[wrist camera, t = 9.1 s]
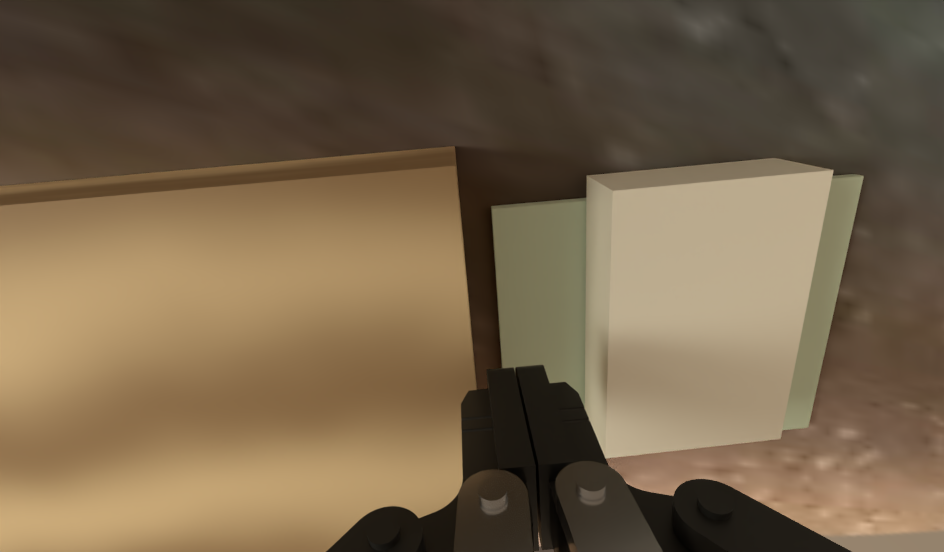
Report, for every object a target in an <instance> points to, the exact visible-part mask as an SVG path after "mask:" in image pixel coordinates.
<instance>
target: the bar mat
mask: <svg viewBox="0 0 944 552" xmlns="http://www.w3.org/2000/svg"><path fill="white" fill-rule="evenodd" d="M863 178H864V176H861V175H857V174H848V175H837V176H832V181H831V186H830V191H829V196H828V201H827V206H826V211H825V216H824V221H823V226H822V231H821V237H820V242H819V247H818V252H817V257H816V262H815V267H814V272H813V277H812V282H811V287H810V292H809V297H808V302H807V307H806V312H805V317H804V323H803V328H802V333H801V338H800V343H799V348H798V353H797V358H796V363H795V368H794V373H793V378H792V383H791V388H790V393H789V398H788V404H787V409H786V414H785V419H784V424H783V429H782V430H789V429H800V428H808V426H809V421H810V417H811V412H812V408H813V403H814V399H815V394H816V390H817V385H818V381H819V376H820V372H821V367H822V363H823V358H824V354H825V349H826V345H827V340H828V336H829V331H830V327H831V322H832V318H833V313H834V309H835V304H836V300H837V295H838V291H839V286H840V281H841V277H842V272H843V268H844V263H845V259H846V254H847V250H848V245H849V241H850V236H851V232H852V227H853V223H854V218H855V214H856V209H857V205H858V200H859V196H860V191H861V187H862V182H863ZM491 215H492V230H493V245H494V260H495V274H496V289H497V304H498V319H499V334H500V349H501V364H502V368H511V367H514V370H515V368H516V367H521V366H532V365H544V368H545V371H546V374H547V377H548V380H549V383H557V382H566V383H568V384H569V385H570V386H571V387H572V388H573V389H574V390H576V391H577V392H578V393H579V396H580V398H581V400H582V403H583V405H584V409H585V312H586V198H577V199H565V200H554V201H543V202H532V203H520V204H509V205H498V206H491Z"/></svg>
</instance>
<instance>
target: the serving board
mask: <svg viewBox="0 0 944 552" xmlns="http://www.w3.org/2000/svg"><path fill="white" fill-rule="evenodd" d="M470 390H477V384H476V373H475V362H474V351H473V340H472V329H471V318H470V307H469V296H468V285H467V274H466V264H465V253H464V242H463V231H462V220H461V209H460V198H459V187H458V176H457V165H456V154H455V146H450V147H439V148H427V149H416V150H405V151H393V152H382V153H371V154H359V155H348V156H336V157H325V158H314V159H302V160H291V161H279V162H268V163H257V164H245V165H234V166H222V167H211V168H200V169H188V170H177V171H165V172H154V173H143V174H131V175H120V176H108V177H97V178H86V179H74V180H63V181H51V182H40V183H29V184H17V185H6V186H0V552H326V551H327V550H328V549H329V548H330V547H332V546H333V545H334V544H335V543H336V542H337V541H338V540H339V539H340V538H341V537H342V536H343V535H344V534H345V533H346V532H347V531H348V530H349V529H350V528H352V527H353V526H354V525H355V524H356V523H357V522H358V521H359V520H360V519H361V518H362V517H364V516H365V515H367V514H368V513H370V512H372V511H374V510H376V509H379V508H382V507H388V506H398V507H403V508H406V509H408V510H410V511H412V512H413V513H415V515H416V516H417V517H418V518H421V517H423V516H426V515H429V514H431V513H434V512H436V511H438V510H440V509H442V508H444V507H445V506H447V505H448V504H449V503H450V502H451V501H452V500H453V499H454V498H455V497H456V496H457V494H458V493H459V490H460V488H461V486H462V481H463V468H462V430H461V403H462V401H463V399H464V397H465V396H466V394H467V392H468V391H470Z"/></svg>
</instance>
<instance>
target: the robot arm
mask: <svg viewBox="0 0 944 552" xmlns="http://www.w3.org/2000/svg"><path fill="white" fill-rule="evenodd" d="M487 382H488V389H481V390H470V391H468V392H467V394H466V396H465V397H464V399H463V401H462V403H461V430H462V468H463V481H462V486H461V488H460V490H459V493H458V494H457V496H456V497H455V498H454V499H453V500H452V501H451V502H450V503H449V504H448V505H447V506H445V507H444V508H442V509H440V510H438V511H436V512H434V513H431V514H429V515H426V516H423V517H421V518H418V517H417V516H416V515H415V513H413V512H412V511H410V510H408V509H406V508H403V507H398V506H388V507H382V508H379V509H376V510H374V511H372V512H370V513H368V514H367V515H365V516H364V517H362V518H361V519H360V520H359V521H358V522H357V523H356V524H355V525H354V526H353V527H352V528H350V529H349V530H348V531H347V532H346V533H345V534H344V535H343V536H342V537H341V538H340V539H339V540H338V541H337V542H336V543H335V544H334V545H333V546H332V547H330V548H329V549H328V550H327V551H326V552H534V551H539V541H538V532H539V537H540V543H541V548H542V550H547V549H554V552H851V551H849V550H848V549H846V548H844V547H842V546H840V545H838V544H836V543H834V542H832V541H831V540H829V539H827V538H825V537H823V536H821V535H819V534H818V533H816V532H814V531H812V530H810V529H808V528H806V527H805V526H803V525H801V524H799V523H797V522H795V521H793V520H791V519H790V518H788V517H786V516H784V515H782V514H780V513H778V512H777V511H775V510H773V509H771V508H769V507H767V506H765V505H763V504H762V503H760V502H758V501H756V500H754V499H752V498H750V497H749V496H747V495H745V494H743V493H741V492H739V491H737V490H735V489H734V488H732V487H730V486H728V485H725V484H723V483H720V482H717V481H713V480H706V479H695V480H690V481H687V482H685V483H683V484H681V485H680V486H679V487H678V488H677V489H676V491H675V493H674V496H669V495H663V494H657V493H651V492H647V491H642V490H639V489H636V488H634V487H632V486H630V485H628V484H626V483H625V481H624V479H623V478H622V476H621V475H620V474H619V473H618V472H616V471H615V470H614V469H612V468H611V467H609V465H608V463H607V461H606V459H605V456H604V454H603V451H602V449H601V446H600V444H599V442H598V439H597V437H596V434H595V432H594V429H593V427H592V425H591V422H590V421H589V417H588V415H587V412H586V410H585V409H584V405H583V403H582V400H581V398H580V396H579V393H578V392H577V391H576V390H574V389H573V388H572V387H571V386H570V385H569V384H568V383H566V382H557V383H549V380H548V377H547V374H546V371H545V368H544V365H532V366H521V367H516V368H515V370H514V367H511V368H500V369H489V370H487Z"/></svg>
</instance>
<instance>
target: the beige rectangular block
mask: <svg viewBox="0 0 944 552" xmlns="http://www.w3.org/2000/svg"><path fill="white" fill-rule="evenodd" d="M833 171H834V170H831V169H826V168H821V167H816V166H812V165H807V164H802V163H797V162H792V161H787V160H783V159H778V158H769V159H758V160H747V161H737V162H726V163H715V164H705V165H694V166H683V167H672V168H662V169H651V170H640V171H630V172H619V173H608V174H597V175H587V190H586V312H585V410H586V412H587V415H588V417H589V421H590V422H591V425H592V427H593V429H594V432H595V434H596V437H597V439H598V442H599V444H600V446H601V449H602V451H603V454H604V456H605V459H606V458H615V457H624V456H633V455H641V454H650V453H659V452H668V451H677V450H686V449H695V448H704V447H713V446H722V445H731V444H740V443H749V442H758V441H766V440H775V439H781V434H782V429H783V424H784V419H785V414H786V409H787V404H788V398H789V393H790V388H791V383H792V378H793V373H794V368H795V363H796V358H797V353H798V348H799V343H800V338H801V333H802V328H803V323H804V317H805V312H806V307H807V302H808V297H809V292H810V287H811V282H812V277H813V272H814V267H815V262H816V257H817V252H818V247H819V242H820V237H821V231H822V226H823V221H824V216H825V211H826V206H827V201H828V196H829V191H830V186H831V181H832V176H833Z"/></svg>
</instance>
